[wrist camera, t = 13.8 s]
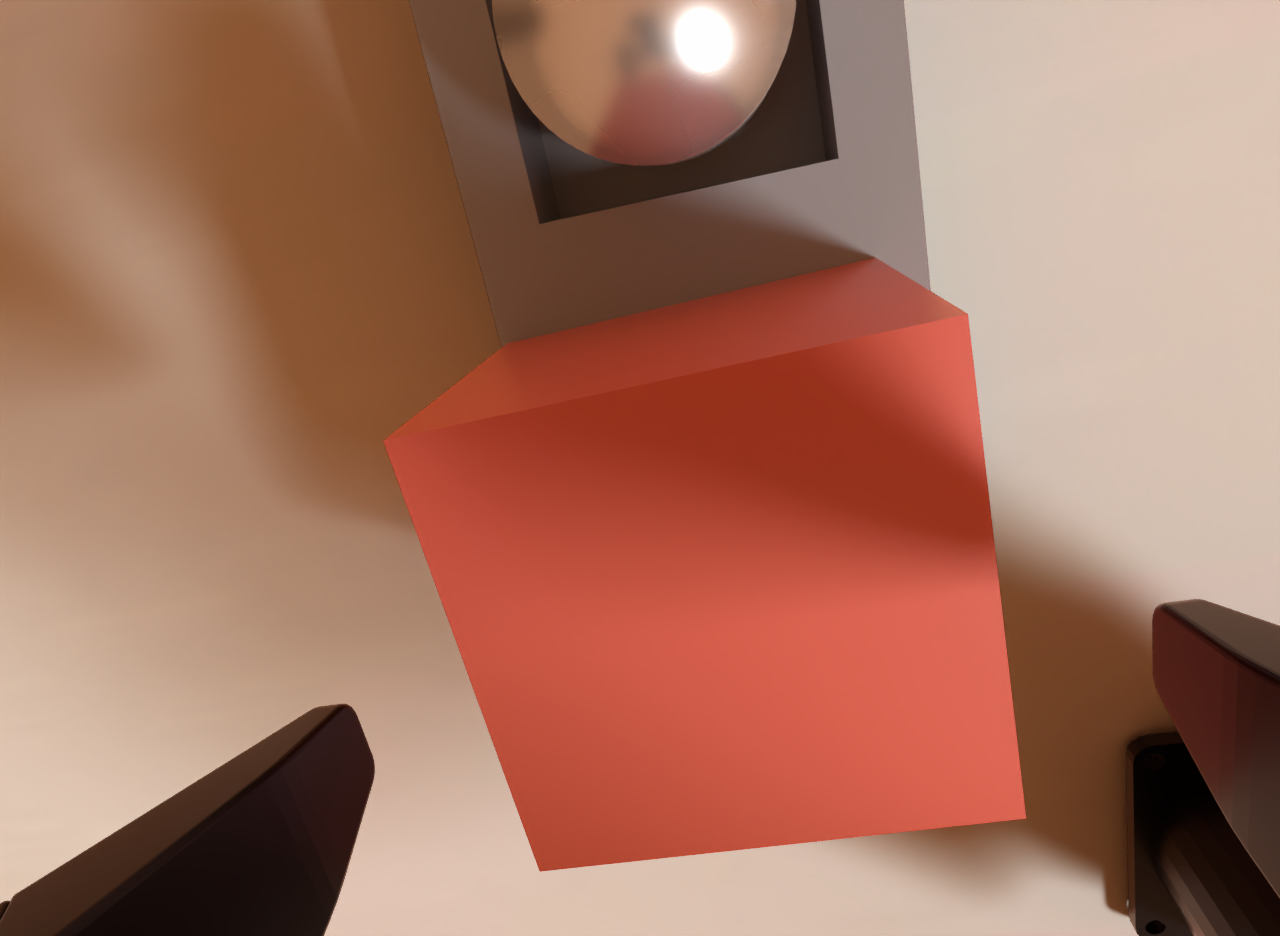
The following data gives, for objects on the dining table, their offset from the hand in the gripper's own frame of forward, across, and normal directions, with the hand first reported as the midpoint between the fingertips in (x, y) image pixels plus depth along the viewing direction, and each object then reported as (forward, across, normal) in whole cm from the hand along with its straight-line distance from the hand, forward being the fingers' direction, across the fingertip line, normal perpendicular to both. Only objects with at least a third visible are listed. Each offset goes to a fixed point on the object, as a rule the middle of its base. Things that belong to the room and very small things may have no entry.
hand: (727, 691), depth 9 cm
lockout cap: (+8, 0, 0) cm, 8 cm away
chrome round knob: (+8, 0, -8) cm, 11 cm away
